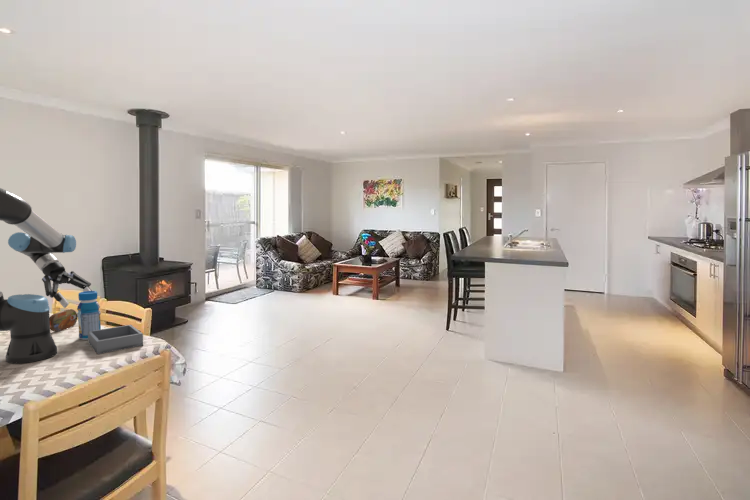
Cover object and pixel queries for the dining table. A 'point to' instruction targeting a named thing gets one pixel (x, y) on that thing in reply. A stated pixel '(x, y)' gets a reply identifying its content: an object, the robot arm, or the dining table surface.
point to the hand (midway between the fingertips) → (80, 302)
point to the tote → (115, 339)
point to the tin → (63, 320)
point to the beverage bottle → (88, 313)
